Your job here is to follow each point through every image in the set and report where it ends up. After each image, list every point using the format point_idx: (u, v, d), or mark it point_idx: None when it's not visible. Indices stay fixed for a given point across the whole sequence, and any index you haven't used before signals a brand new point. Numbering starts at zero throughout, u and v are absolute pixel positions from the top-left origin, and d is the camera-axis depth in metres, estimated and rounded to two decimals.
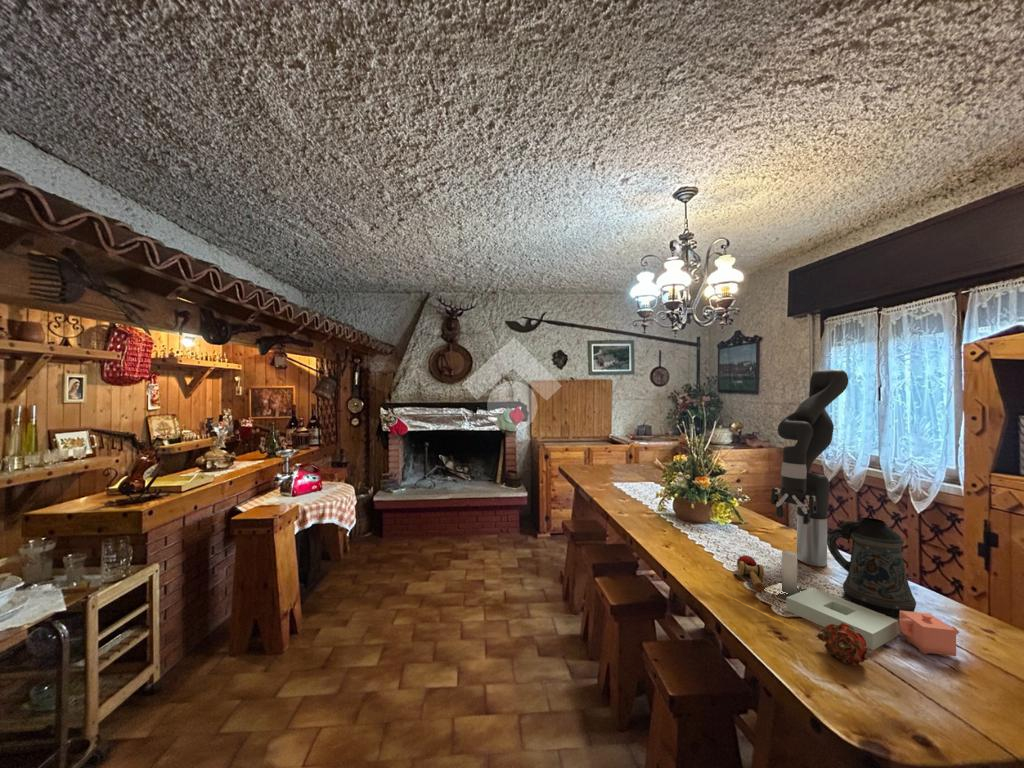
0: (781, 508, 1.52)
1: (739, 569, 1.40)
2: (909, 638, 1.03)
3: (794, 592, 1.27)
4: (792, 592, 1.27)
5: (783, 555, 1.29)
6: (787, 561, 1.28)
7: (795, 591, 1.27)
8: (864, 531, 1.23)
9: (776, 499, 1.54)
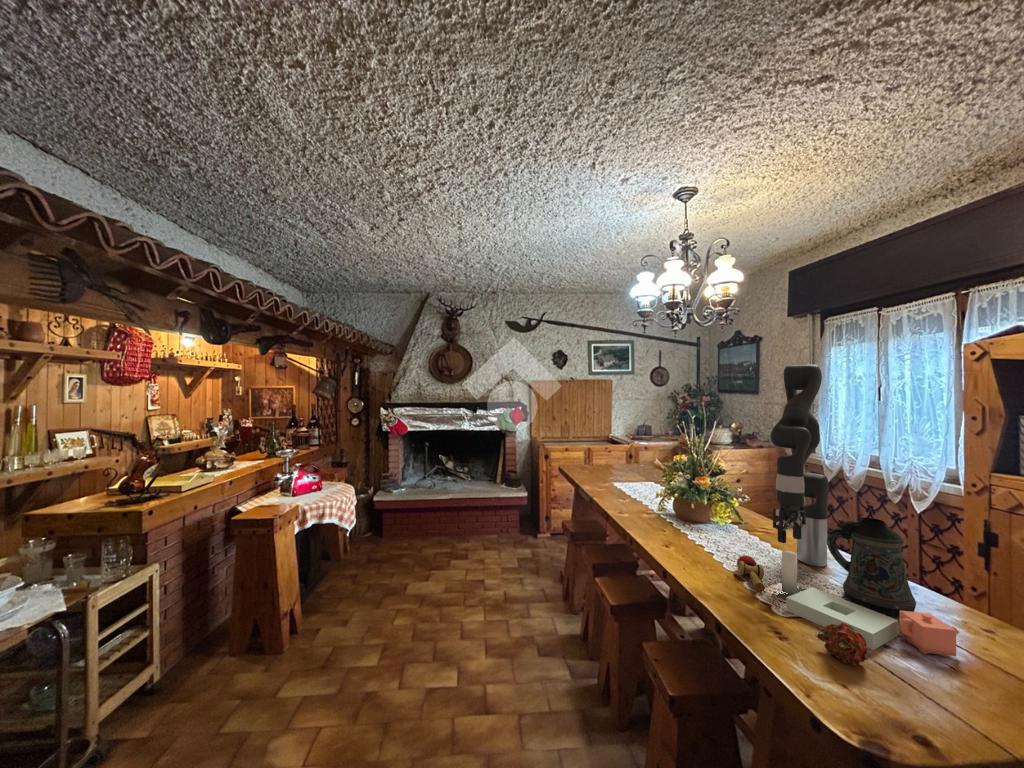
0: None
1: (739, 569, 1.40)
2: (909, 638, 1.03)
3: (794, 592, 1.27)
4: (792, 592, 1.27)
5: (783, 555, 1.29)
6: (787, 561, 1.28)
7: (795, 591, 1.27)
8: (864, 531, 1.23)
9: (775, 522, 1.27)
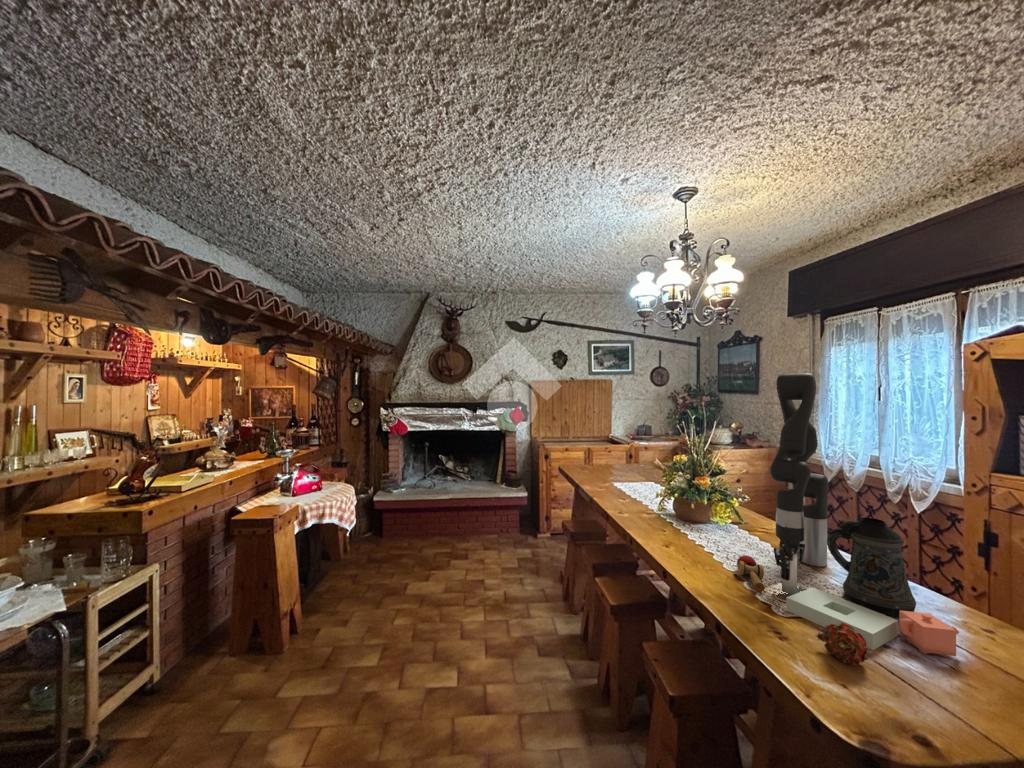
0: None
1: (739, 569, 1.40)
2: (909, 638, 1.03)
3: (794, 592, 1.27)
4: (792, 592, 1.27)
5: None
6: None
7: (795, 591, 1.27)
8: (864, 531, 1.23)
9: (778, 560, 1.28)
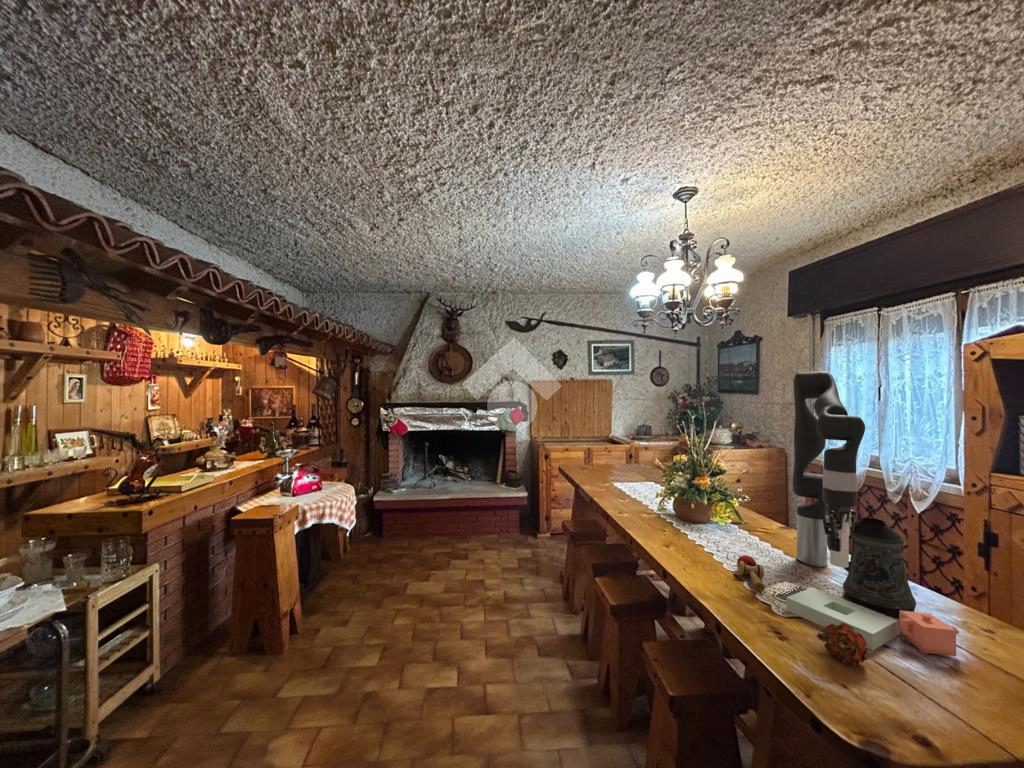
0: None
1: (739, 569, 1.40)
2: (909, 638, 1.03)
3: (846, 565, 1.11)
4: (843, 565, 1.11)
5: None
6: None
7: (847, 564, 1.11)
8: (864, 531, 1.23)
9: (827, 528, 1.11)
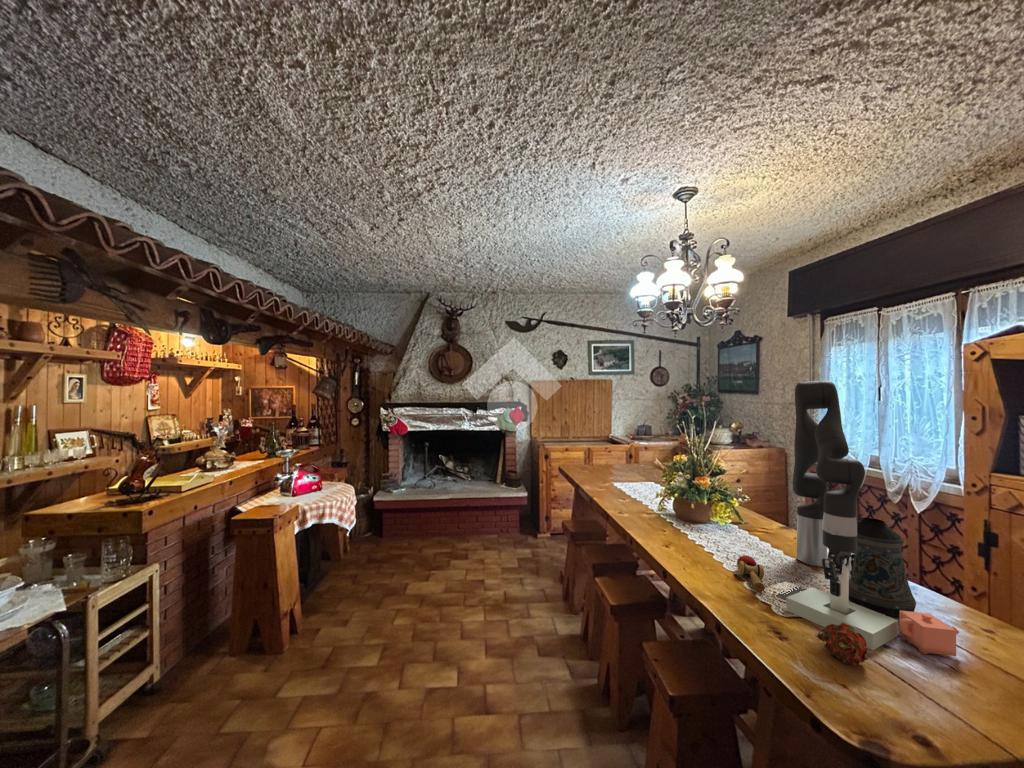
0: None
1: (739, 569, 1.40)
2: (909, 638, 1.03)
3: (846, 610, 1.10)
4: (843, 610, 1.10)
5: None
6: None
7: (847, 609, 1.11)
8: (864, 531, 1.23)
9: (827, 573, 1.11)
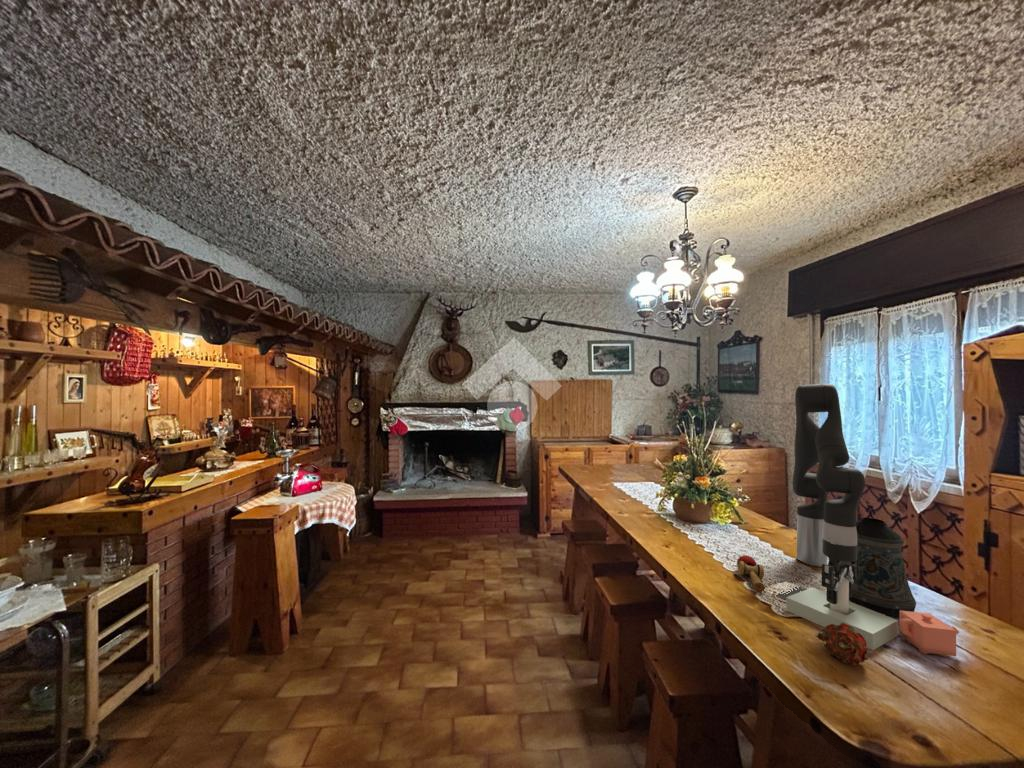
0: None
1: (739, 569, 1.40)
2: (909, 638, 1.03)
3: None
4: None
5: None
6: None
7: None
8: (864, 531, 1.23)
9: (824, 580, 1.10)
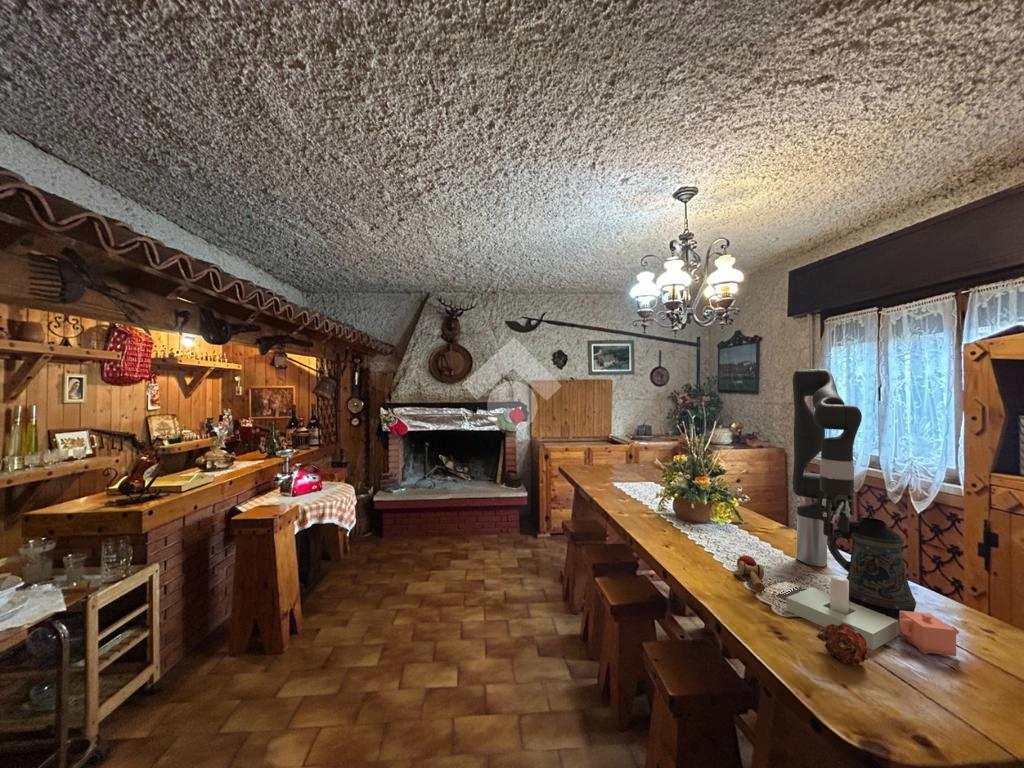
0: None
1: (739, 569, 1.40)
2: (909, 638, 1.03)
3: None
4: None
5: (832, 581, 1.13)
6: (837, 588, 1.11)
7: None
8: (864, 531, 1.23)
9: (821, 513, 1.12)
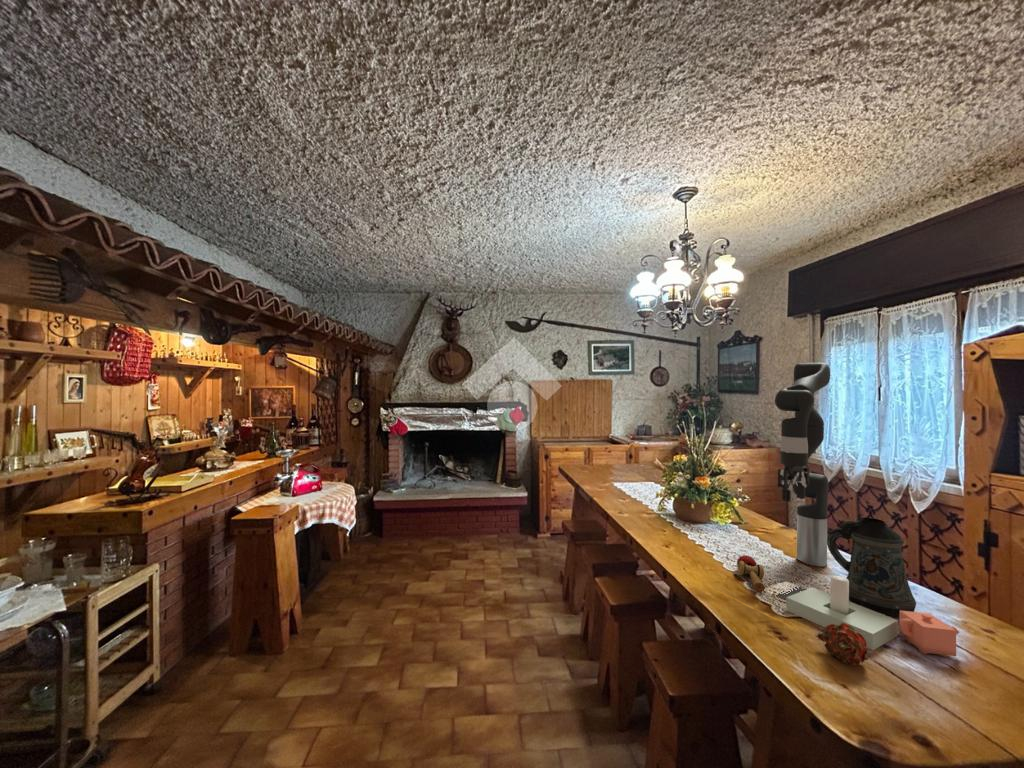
0: None
1: (739, 569, 1.40)
2: (909, 638, 1.03)
3: None
4: None
5: (832, 581, 1.13)
6: (837, 588, 1.11)
7: None
8: (864, 531, 1.23)
9: (780, 482, 1.32)
